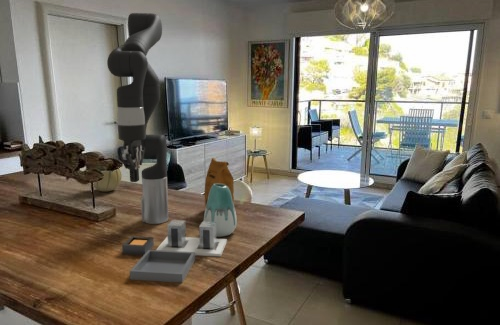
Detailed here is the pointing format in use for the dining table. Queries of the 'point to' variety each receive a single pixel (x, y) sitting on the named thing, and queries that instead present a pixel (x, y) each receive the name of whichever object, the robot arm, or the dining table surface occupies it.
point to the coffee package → (218, 177)
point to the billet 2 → (207, 235)
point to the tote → (163, 266)
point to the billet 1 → (176, 234)
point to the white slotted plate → (195, 247)
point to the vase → (221, 210)
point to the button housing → (137, 246)
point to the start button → (138, 242)
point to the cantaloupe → (109, 181)
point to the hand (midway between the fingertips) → (134, 181)
